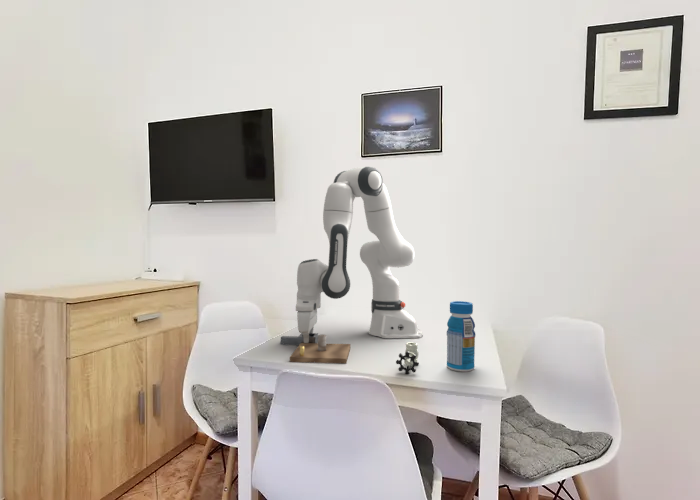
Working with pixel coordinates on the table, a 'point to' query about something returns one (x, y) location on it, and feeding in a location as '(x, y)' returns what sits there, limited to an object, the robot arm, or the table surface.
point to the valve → (409, 358)
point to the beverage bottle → (460, 337)
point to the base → (322, 352)
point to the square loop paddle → (299, 339)
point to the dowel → (301, 350)
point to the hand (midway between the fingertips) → (308, 339)
